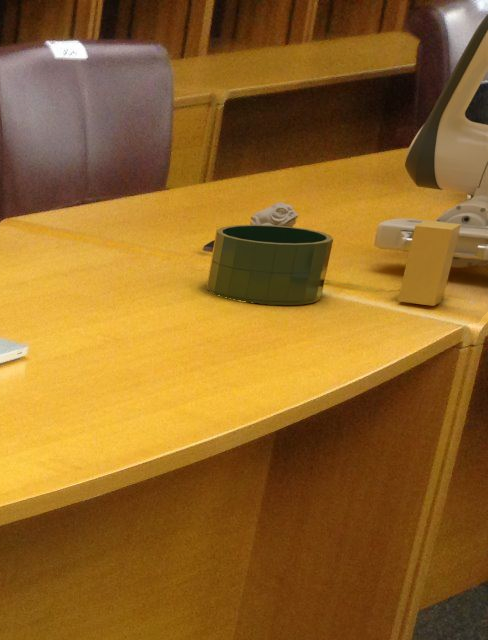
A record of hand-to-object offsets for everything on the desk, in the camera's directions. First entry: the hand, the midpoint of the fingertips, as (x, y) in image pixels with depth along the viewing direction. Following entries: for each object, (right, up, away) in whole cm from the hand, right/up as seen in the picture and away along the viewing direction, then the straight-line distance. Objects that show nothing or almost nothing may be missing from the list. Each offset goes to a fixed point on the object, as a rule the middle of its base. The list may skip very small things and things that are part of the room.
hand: (443, 248), depth 209 cm
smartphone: (-15, +6, +25) cm, 30 cm away
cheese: (-4, -8, -2) cm, 9 cm away
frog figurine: (-10, +9, +31) cm, 34 cm away
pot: (-24, -6, +2) cm, 25 cm away
